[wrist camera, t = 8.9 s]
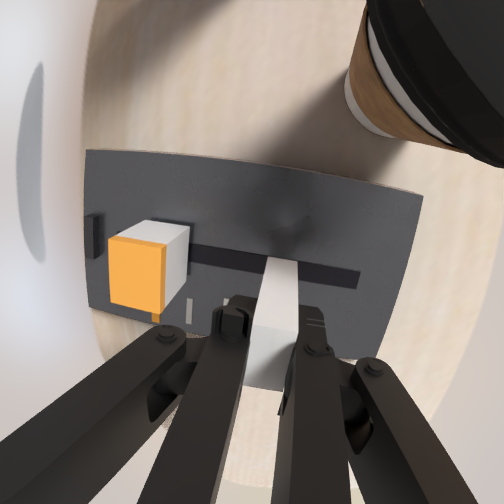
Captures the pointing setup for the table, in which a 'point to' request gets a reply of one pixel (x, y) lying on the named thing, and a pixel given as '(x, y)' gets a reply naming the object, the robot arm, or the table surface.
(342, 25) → the table surface
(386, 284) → the panel
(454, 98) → the coffee cup
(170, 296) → the fader tab
